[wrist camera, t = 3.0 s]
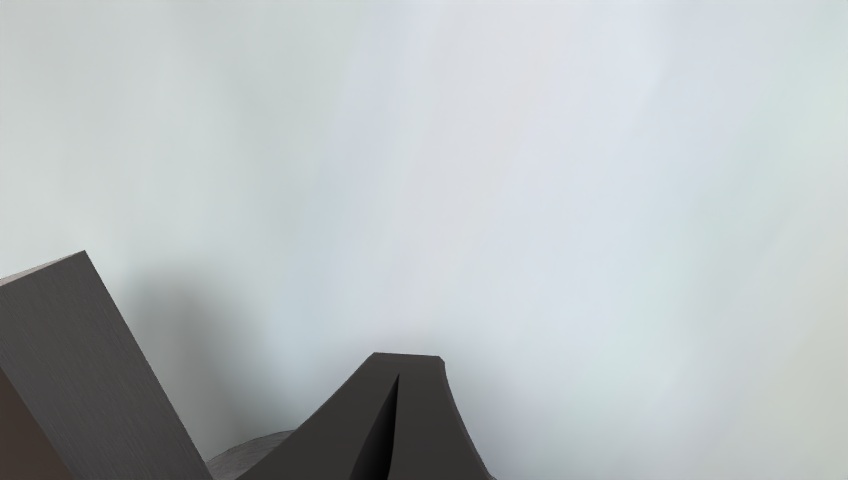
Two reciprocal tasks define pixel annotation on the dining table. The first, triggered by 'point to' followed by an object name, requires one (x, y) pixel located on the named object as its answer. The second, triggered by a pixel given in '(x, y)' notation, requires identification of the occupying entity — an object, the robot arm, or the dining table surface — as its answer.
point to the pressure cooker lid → (81, 386)
